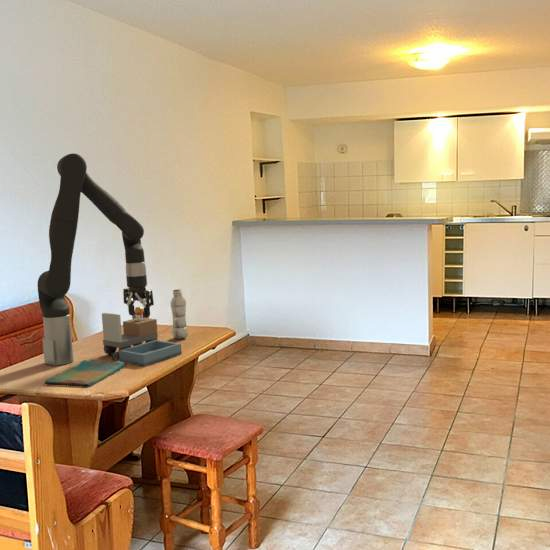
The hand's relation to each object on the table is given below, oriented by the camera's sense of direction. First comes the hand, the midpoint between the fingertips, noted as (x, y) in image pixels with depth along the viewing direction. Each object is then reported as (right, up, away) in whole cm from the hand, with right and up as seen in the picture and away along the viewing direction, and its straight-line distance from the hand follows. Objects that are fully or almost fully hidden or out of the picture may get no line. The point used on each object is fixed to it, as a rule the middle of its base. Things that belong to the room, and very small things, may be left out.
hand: (139, 315), depth 245 cm
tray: (+7, -14, -13) cm, 21 cm away
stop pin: (0, -7, +1) cm, 7 cm away
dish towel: (-11, -19, -32) cm, 38 cm away
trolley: (-2, -13, -2) cm, 14 cm away
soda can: (-3, -11, +18) cm, 21 cm away
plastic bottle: (+13, -10, +16) cm, 23 cm away
